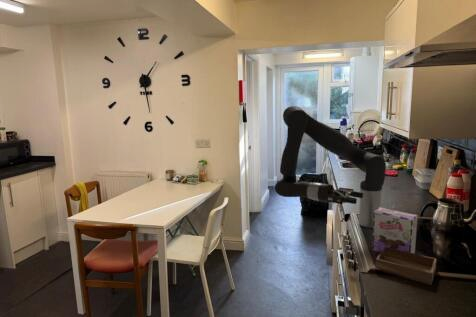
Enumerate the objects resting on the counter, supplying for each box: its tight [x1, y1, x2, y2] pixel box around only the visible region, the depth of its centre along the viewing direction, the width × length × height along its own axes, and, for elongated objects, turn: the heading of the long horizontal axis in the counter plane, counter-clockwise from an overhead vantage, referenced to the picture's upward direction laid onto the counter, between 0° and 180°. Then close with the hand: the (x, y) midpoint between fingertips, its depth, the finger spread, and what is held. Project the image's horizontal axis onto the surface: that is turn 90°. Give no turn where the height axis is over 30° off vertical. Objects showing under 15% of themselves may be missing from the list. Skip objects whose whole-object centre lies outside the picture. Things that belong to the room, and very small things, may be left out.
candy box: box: [371, 206, 418, 254], centre depth 121 cm, size 14×6×16 cm, turn 45°
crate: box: [375, 247, 437, 286], centre depth 111 cm, size 11×17×4 cm, turn 53°
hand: (359, 198), depth 127 cm, fingers open, 8 cm apart
